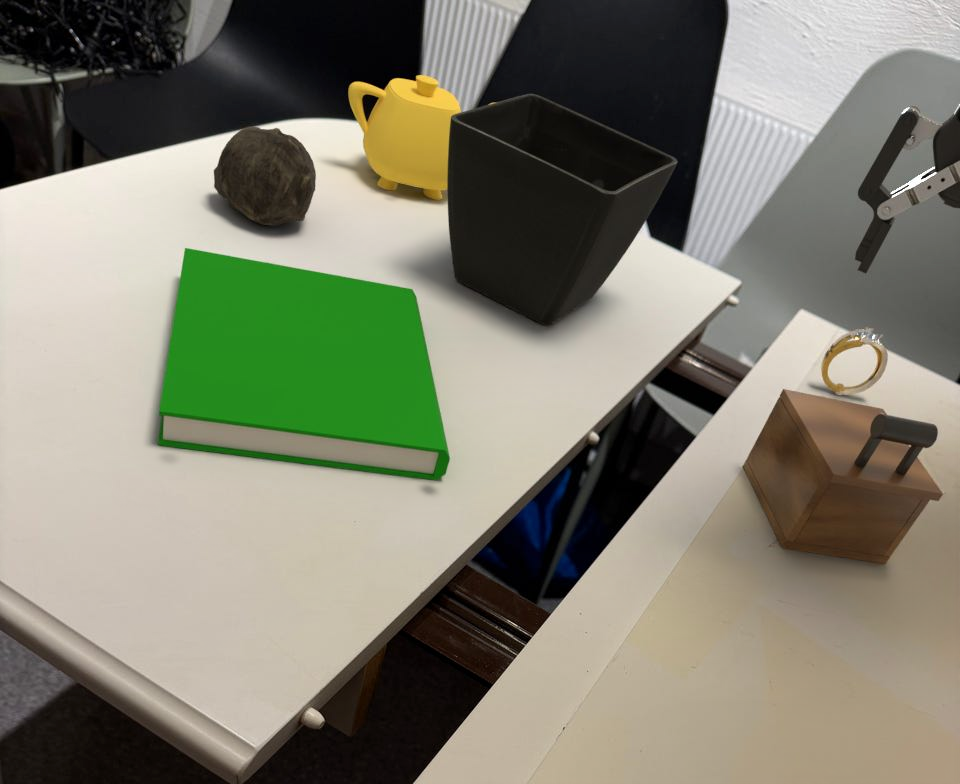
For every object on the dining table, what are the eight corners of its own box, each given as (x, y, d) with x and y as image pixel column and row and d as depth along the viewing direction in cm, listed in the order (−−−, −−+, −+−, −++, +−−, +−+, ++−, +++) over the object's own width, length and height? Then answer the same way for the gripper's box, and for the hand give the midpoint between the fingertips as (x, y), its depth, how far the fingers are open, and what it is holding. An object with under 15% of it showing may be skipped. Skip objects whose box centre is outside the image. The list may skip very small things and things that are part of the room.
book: (157, 444, 74) (159, 411, 72) (183, 278, 93) (185, 247, 91) (443, 481, 80) (452, 450, 78) (411, 317, 99) (417, 290, 97)
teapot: (494, 218, 125) (521, 116, 117) (340, 187, 119) (356, 77, 111) (478, 178, 134) (502, 81, 126) (334, 148, 129) (349, 43, 120)
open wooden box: (885, 564, 88) (933, 495, 83) (782, 547, 86) (824, 476, 81) (837, 482, 97) (878, 416, 92) (742, 465, 95) (778, 396, 90)
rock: (228, 175, 111) (244, 88, 104) (319, 220, 112) (341, 137, 105) (190, 211, 104) (204, 121, 97) (287, 258, 106) (308, 173, 98)
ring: (810, 391, 111) (845, 327, 106) (807, 378, 114) (841, 315, 108) (867, 408, 112) (904, 346, 107) (862, 395, 114) (899, 333, 109)
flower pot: (559, 351, 103) (614, 190, 91) (412, 275, 106) (447, 112, 95) (626, 304, 116) (681, 159, 105) (493, 238, 120) (532, 92, 109)
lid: (938, 501, 82) (977, 446, 79) (828, 482, 80) (863, 424, 76) (878, 415, 92) (910, 363, 88) (779, 396, 89) (807, 341, 86)
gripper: (1167, 80, 62) (1011, 316, 73) (954, 1, 64) (834, 241, 75) (1180, 97, 56) (1009, 349, 67) (946, 10, 59) (818, 267, 69)
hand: (917, 292), depth 71 cm, fingers open, 8 cm apart
